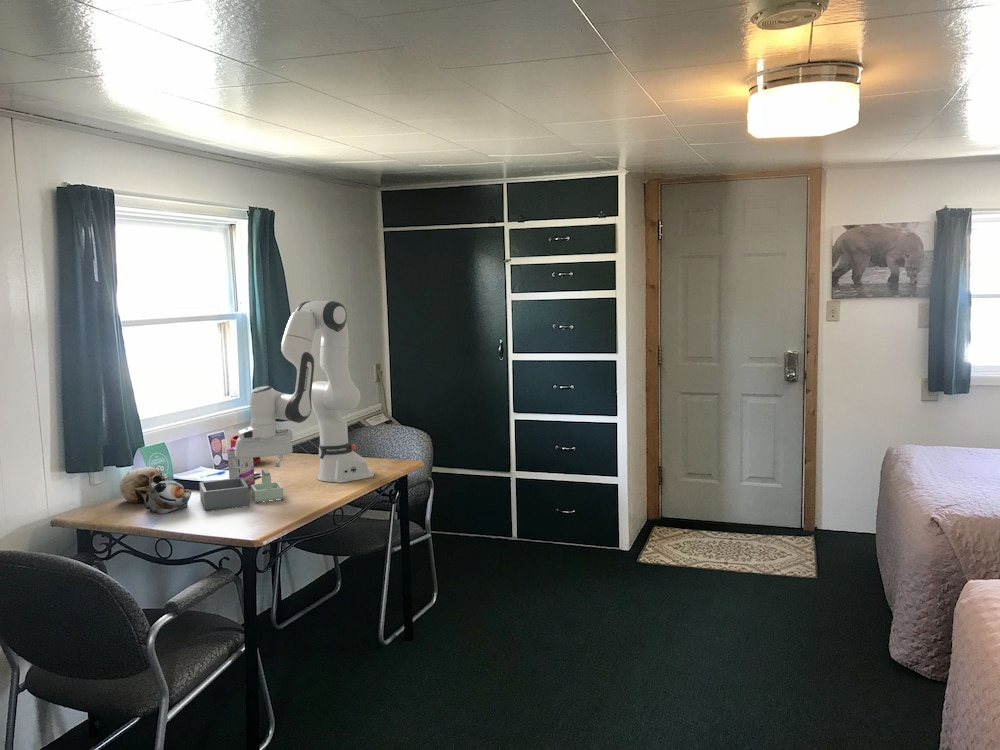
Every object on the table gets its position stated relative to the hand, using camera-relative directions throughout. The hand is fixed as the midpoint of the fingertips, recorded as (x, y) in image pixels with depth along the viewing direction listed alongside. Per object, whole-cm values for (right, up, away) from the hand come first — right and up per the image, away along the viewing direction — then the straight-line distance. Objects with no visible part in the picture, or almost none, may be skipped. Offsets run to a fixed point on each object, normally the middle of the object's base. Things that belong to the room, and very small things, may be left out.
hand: (264, 468), depth 302 cm
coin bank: (-42, -12, +1) cm, 44 cm away
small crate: (0, -11, +2) cm, 11 cm away
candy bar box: (-14, -10, +17) cm, 24 cm away
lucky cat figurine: (-30, -14, -12) cm, 35 cm away
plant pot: (-24, -5, +58) cm, 62 cm away
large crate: (-13, -12, -4) cm, 18 cm away
